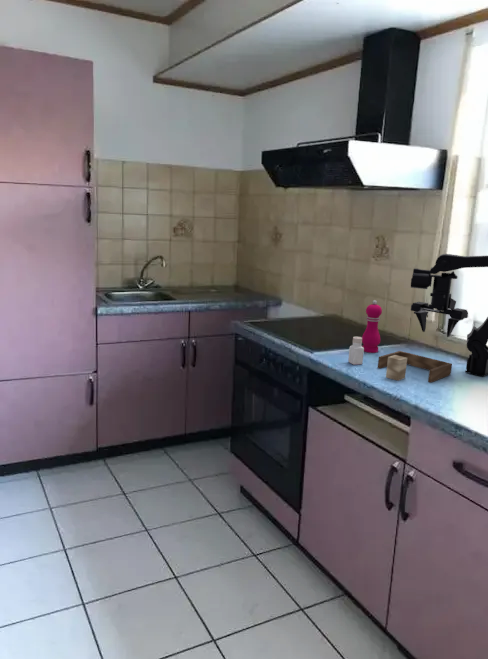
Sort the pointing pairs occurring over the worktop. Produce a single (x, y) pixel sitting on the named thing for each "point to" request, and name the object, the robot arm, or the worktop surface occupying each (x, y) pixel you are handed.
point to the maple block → (396, 367)
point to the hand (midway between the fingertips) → (435, 334)
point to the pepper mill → (372, 328)
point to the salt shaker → (356, 351)
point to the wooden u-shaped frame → (421, 364)
